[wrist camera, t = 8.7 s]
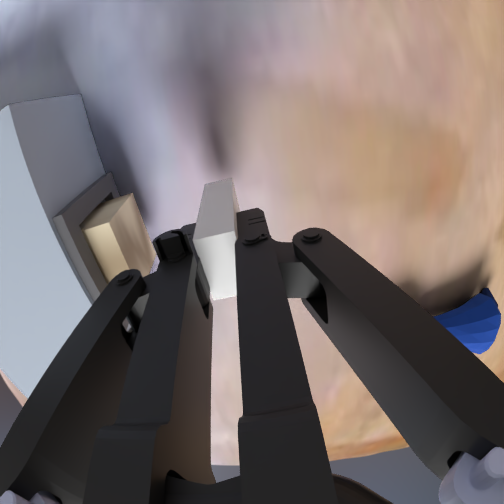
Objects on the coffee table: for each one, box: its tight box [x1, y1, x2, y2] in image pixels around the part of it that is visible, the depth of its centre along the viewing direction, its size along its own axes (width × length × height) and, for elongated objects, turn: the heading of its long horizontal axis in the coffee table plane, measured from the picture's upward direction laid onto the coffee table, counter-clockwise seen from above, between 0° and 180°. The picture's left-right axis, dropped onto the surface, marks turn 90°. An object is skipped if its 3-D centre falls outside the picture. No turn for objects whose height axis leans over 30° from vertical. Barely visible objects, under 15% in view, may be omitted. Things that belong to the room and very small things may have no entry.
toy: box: [434, 288, 501, 354], centre depth 24 cm, size 7×6×15 cm
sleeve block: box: [0, 94, 131, 399], centre depth 16 cm, size 18×13×8 cm
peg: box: [79, 193, 156, 284], centre depth 16 cm, size 4×16×4 cm, turn 102°
